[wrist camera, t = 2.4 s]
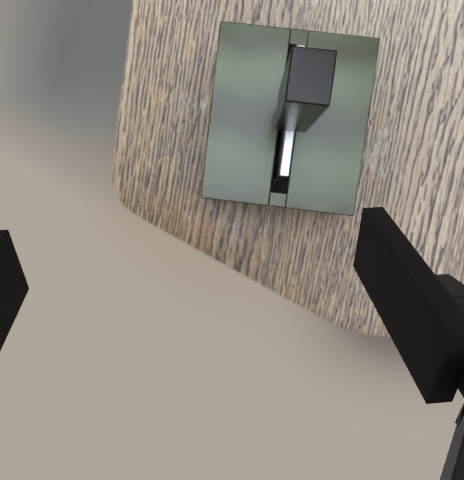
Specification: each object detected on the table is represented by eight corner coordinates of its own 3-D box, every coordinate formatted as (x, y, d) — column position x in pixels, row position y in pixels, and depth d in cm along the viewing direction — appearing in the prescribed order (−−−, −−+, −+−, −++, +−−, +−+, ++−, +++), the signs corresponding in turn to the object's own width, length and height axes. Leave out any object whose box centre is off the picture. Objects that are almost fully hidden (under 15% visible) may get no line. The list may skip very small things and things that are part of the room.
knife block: (336, 213, 36) (354, 216, 30) (208, 197, 37) (200, 197, 31) (357, 64, 35) (380, 38, 29) (224, 50, 35) (220, 20, 29)
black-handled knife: (287, 182, 36) (321, 170, 19) (263, 179, 36) (276, 165, 19) (300, 84, 36) (347, -19, 19) (275, 81, 36) (300, -24, 19)
